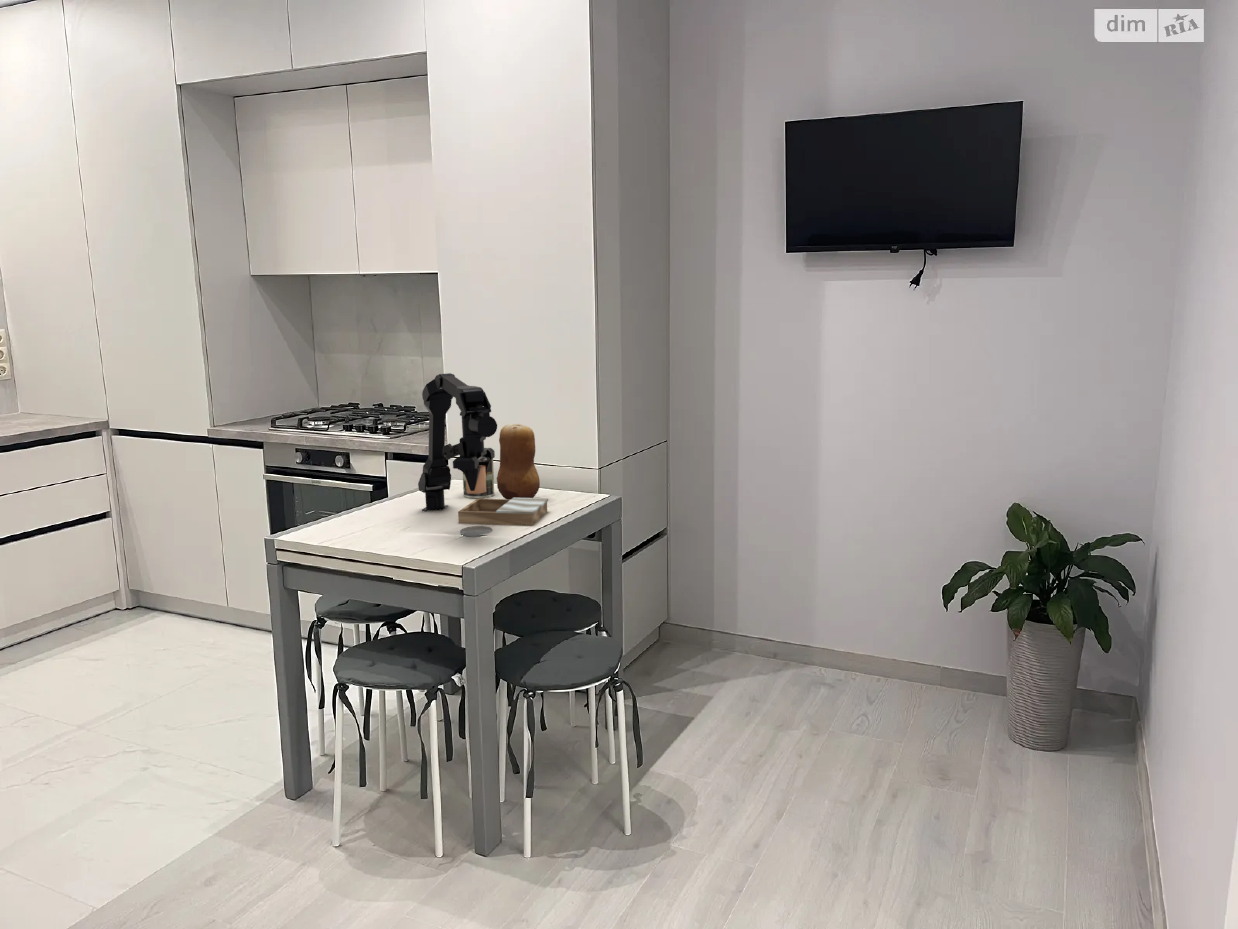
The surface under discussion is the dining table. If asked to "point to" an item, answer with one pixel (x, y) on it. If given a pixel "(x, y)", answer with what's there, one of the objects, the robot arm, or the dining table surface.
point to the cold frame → (504, 511)
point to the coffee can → (488, 483)
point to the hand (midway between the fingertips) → (475, 488)
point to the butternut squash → (517, 463)
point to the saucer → (475, 531)
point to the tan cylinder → (479, 483)
